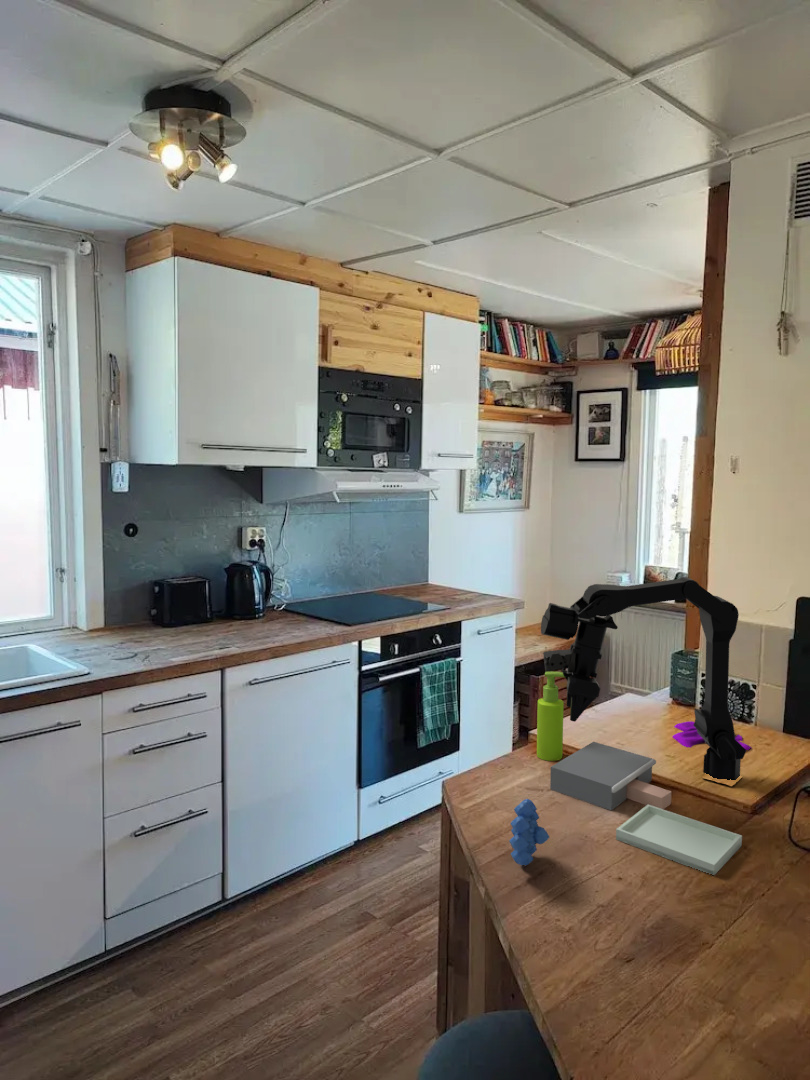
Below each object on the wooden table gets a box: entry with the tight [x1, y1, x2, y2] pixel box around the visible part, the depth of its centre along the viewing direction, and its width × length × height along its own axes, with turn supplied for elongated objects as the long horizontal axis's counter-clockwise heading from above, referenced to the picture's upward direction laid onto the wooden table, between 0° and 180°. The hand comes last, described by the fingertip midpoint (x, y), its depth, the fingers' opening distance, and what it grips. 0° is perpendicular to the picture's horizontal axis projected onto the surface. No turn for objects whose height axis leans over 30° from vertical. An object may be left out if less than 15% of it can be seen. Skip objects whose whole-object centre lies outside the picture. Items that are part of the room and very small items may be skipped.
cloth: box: [672, 721, 752, 751], centre depth 192 cm, size 22×19×6 cm
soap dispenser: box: [536, 671, 566, 762], centre depth 180 cm, size 6×7×20 cm
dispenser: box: [549, 741, 657, 811], centre depth 165 cm, size 15×18×5 cm
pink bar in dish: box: [626, 779, 672, 810], centre depth 161 cm, size 14×4×3 cm, turn 45°
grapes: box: [508, 798, 550, 867], centre depth 134 cm, size 12×7×12 cm, turn 159°
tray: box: [615, 805, 743, 876], centre depth 142 cm, size 18×13×2 cm
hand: (570, 713), depth 166 cm, fingers open, 9 cm apart
